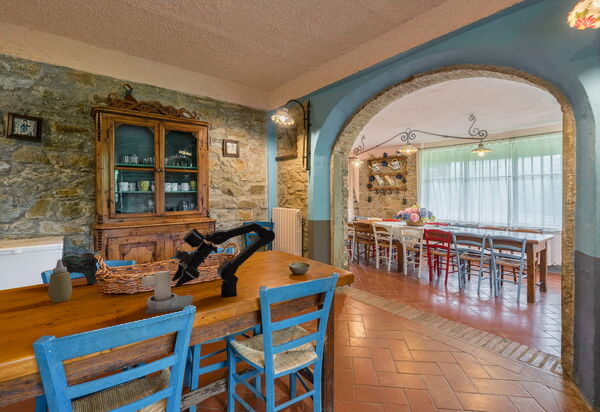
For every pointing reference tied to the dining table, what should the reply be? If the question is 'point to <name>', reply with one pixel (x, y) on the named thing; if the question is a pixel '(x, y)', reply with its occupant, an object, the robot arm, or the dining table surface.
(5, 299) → the dining table surface
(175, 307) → the duct board
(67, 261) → the spray gun
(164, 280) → the duct elbow
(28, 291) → the dining table surface
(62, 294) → the squeeze bottle
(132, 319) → the dining table surface
